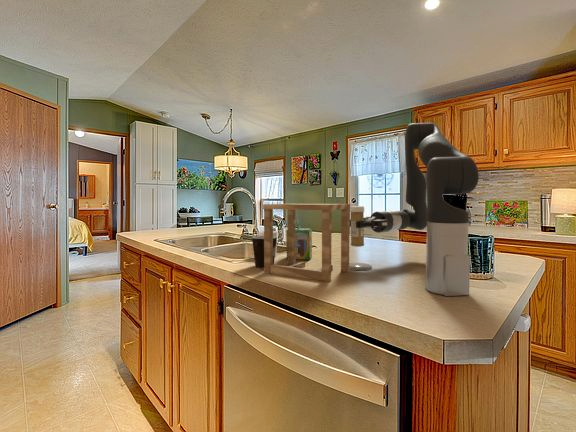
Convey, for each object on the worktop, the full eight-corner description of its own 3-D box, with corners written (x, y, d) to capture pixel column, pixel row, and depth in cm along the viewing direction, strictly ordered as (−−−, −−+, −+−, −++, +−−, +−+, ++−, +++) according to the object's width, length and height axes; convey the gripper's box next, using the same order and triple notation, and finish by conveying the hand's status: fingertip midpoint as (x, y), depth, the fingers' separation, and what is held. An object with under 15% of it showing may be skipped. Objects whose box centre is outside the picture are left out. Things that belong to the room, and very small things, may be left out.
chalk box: (309, 260, 120) (309, 221, 119) (285, 259, 121) (285, 221, 121) (312, 256, 129) (312, 220, 128) (290, 255, 130) (290, 219, 130)
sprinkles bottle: (366, 246, 106) (366, 206, 105) (354, 247, 105) (354, 206, 104) (359, 244, 110) (359, 205, 110) (347, 245, 109) (347, 206, 108)
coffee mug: (265, 262, 116) (265, 235, 116) (282, 266, 110) (282, 237, 109) (239, 267, 108) (239, 238, 107) (255, 271, 102) (255, 240, 101)
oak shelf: (291, 263, 114) (291, 203, 113) (349, 270, 102) (350, 204, 101) (263, 272, 100) (262, 204, 98) (327, 282, 88) (327, 204, 87)
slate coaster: (377, 270, 103) (377, 268, 103) (347, 271, 102) (347, 269, 102) (365, 263, 113) (365, 262, 113) (338, 264, 112) (338, 263, 112)
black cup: (266, 258, 124) (266, 233, 123) (254, 256, 130) (254, 231, 129) (281, 256, 129) (281, 231, 128) (269, 253, 135) (269, 230, 134)
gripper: (370, 210, 120) (336, 212, 111) (402, 211, 109) (367, 213, 99) (370, 230, 121) (336, 233, 112) (402, 233, 109) (367, 237, 100)
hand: (351, 224), depth 105 cm, fingers closed on sprinkles bottle, 4 cm apart
